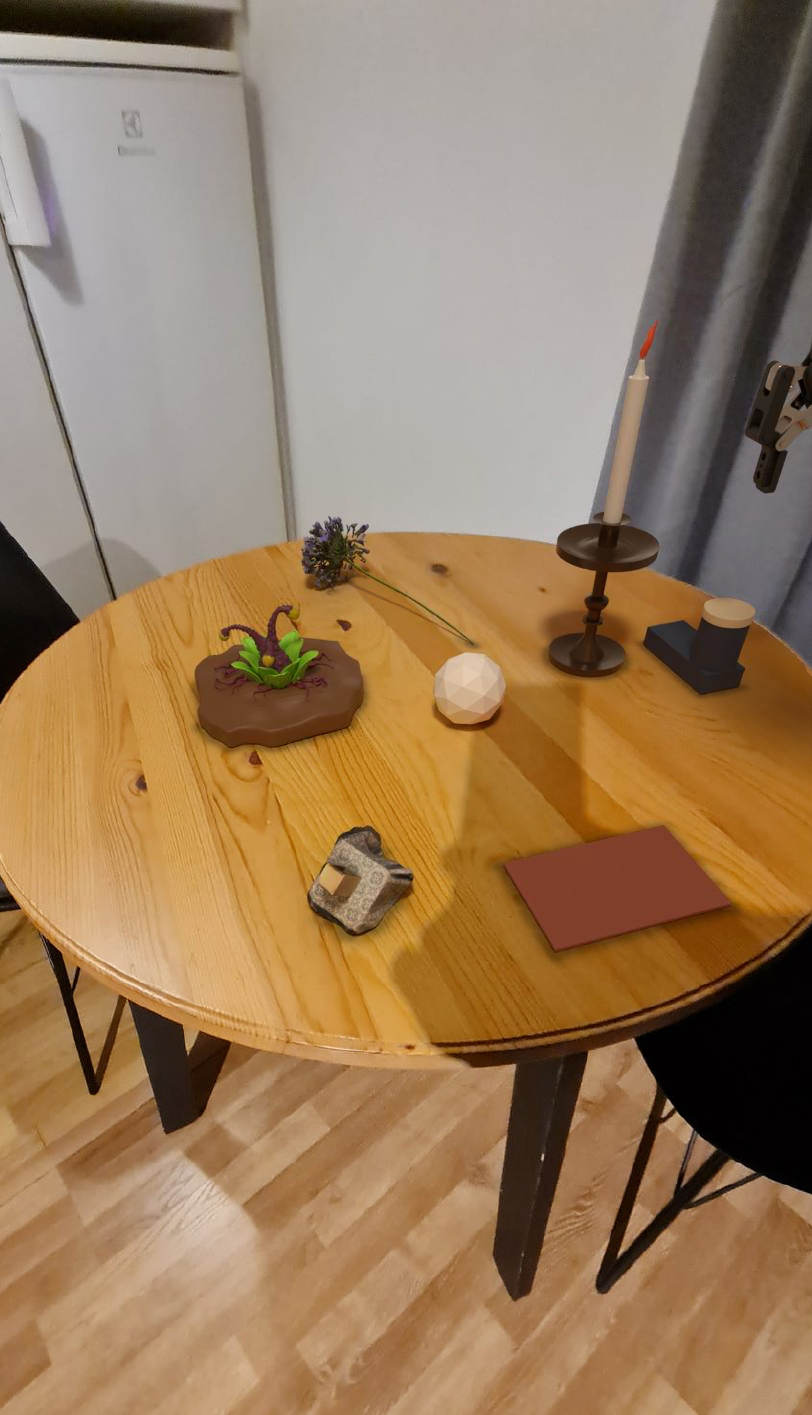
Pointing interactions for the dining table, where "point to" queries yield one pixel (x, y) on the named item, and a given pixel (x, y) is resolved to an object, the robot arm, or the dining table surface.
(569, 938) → the mat
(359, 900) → the grey patterned crumpled piece
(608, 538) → the candlestick
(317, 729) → the plant
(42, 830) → the dining table surface
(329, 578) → the flower
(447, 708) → the geometric ball
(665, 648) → the bootie
